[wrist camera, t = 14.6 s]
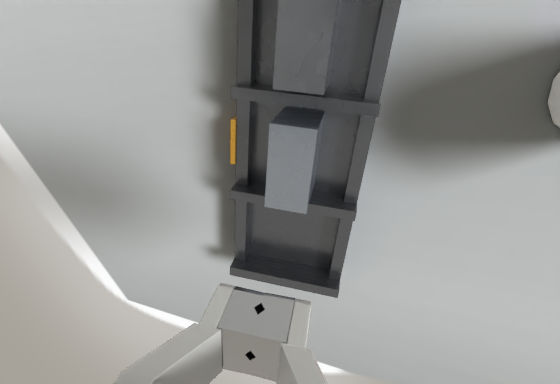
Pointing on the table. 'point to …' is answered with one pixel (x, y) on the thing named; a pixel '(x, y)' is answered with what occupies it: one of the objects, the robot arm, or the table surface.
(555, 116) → the white cup
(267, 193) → the grey upright block
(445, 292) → the table surface
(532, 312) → the table surface
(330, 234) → the rack
